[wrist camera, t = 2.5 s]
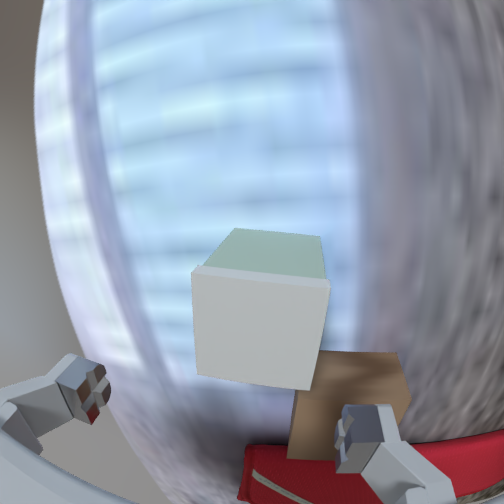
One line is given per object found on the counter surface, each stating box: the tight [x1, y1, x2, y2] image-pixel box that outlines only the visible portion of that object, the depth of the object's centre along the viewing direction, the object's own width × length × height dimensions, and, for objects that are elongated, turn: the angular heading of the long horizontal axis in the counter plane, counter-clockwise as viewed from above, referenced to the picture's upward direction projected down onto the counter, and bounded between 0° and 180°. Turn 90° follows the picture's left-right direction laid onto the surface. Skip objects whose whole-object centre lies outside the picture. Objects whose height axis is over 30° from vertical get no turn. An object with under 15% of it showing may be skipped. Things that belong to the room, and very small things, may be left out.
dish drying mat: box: [237, 429, 504, 504], centre depth 23 cm, size 16×41×4 cm, turn 84°
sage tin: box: [191, 228, 331, 391], centre depth 15 cm, size 5×5×7 cm
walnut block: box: [287, 350, 412, 461], centre depth 18 cm, size 7×7×5 cm
